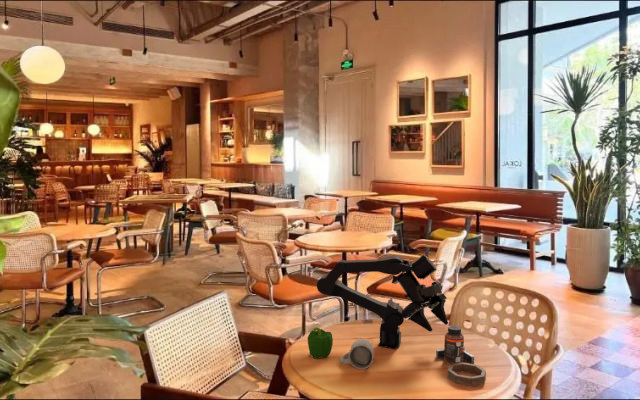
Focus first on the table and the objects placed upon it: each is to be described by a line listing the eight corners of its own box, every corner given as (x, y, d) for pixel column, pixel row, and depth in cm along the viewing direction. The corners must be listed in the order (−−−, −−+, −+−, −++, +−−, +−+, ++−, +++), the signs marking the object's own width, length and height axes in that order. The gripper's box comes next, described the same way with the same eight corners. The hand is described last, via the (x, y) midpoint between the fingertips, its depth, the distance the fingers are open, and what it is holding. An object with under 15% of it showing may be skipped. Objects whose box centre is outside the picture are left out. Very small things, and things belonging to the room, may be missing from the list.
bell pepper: (327, 349, 174) (327, 320, 173) (336, 358, 167) (336, 329, 166) (303, 352, 171) (303, 323, 170) (311, 362, 164) (311, 332, 163)
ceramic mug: (373, 359, 166) (373, 336, 166) (373, 370, 158) (373, 345, 158) (341, 358, 168) (340, 335, 167) (339, 368, 160) (338, 344, 159)
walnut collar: (445, 382, 150) (445, 373, 150) (452, 368, 160) (452, 360, 159) (482, 389, 146) (482, 380, 146) (486, 374, 155) (487, 366, 155)
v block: (473, 364, 162) (473, 357, 162) (435, 358, 167) (435, 350, 167) (477, 355, 170) (477, 348, 169) (440, 349, 175) (440, 342, 174)
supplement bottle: (463, 366, 161) (464, 331, 160) (444, 364, 162) (445, 330, 161) (462, 359, 167) (463, 325, 166) (443, 357, 168) (444, 323, 167)
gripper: (410, 278, 163) (439, 321, 156) (442, 269, 176) (470, 308, 169) (389, 297, 169) (416, 339, 163) (422, 287, 182) (448, 325, 176)
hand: (439, 327), depth 167 cm, fingers open, 9 cm apart
